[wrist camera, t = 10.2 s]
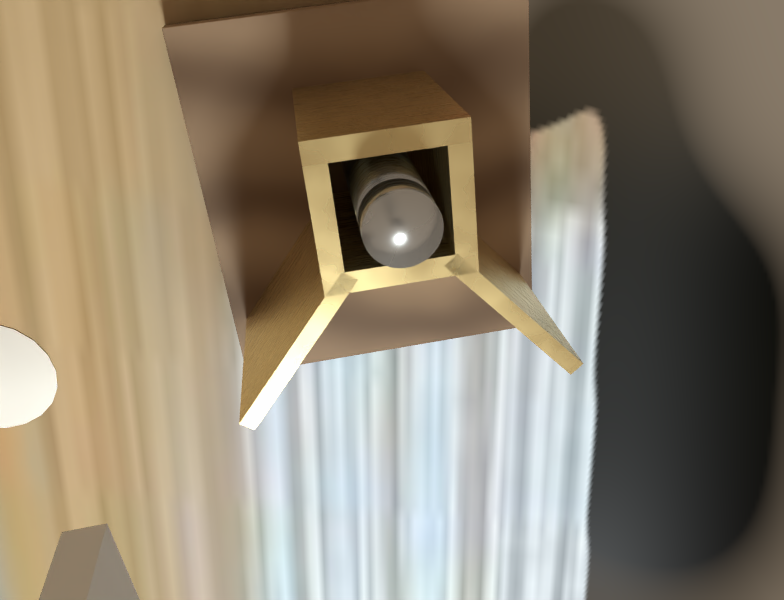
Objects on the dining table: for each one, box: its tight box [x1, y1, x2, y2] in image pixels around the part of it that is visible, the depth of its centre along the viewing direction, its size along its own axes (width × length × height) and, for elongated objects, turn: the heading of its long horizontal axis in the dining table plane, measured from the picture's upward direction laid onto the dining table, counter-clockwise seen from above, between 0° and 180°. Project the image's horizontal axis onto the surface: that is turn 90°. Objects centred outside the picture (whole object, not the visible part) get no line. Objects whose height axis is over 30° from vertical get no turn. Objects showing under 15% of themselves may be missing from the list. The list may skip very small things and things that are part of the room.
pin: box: [341, 152, 444, 268], centre depth 32 cm, size 3×3×12 cm
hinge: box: [239, 71, 583, 430], centre depth 35 cm, size 13×17×10 cm
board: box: [162, 0, 532, 364], centre depth 40 cm, size 20×18×1 cm
